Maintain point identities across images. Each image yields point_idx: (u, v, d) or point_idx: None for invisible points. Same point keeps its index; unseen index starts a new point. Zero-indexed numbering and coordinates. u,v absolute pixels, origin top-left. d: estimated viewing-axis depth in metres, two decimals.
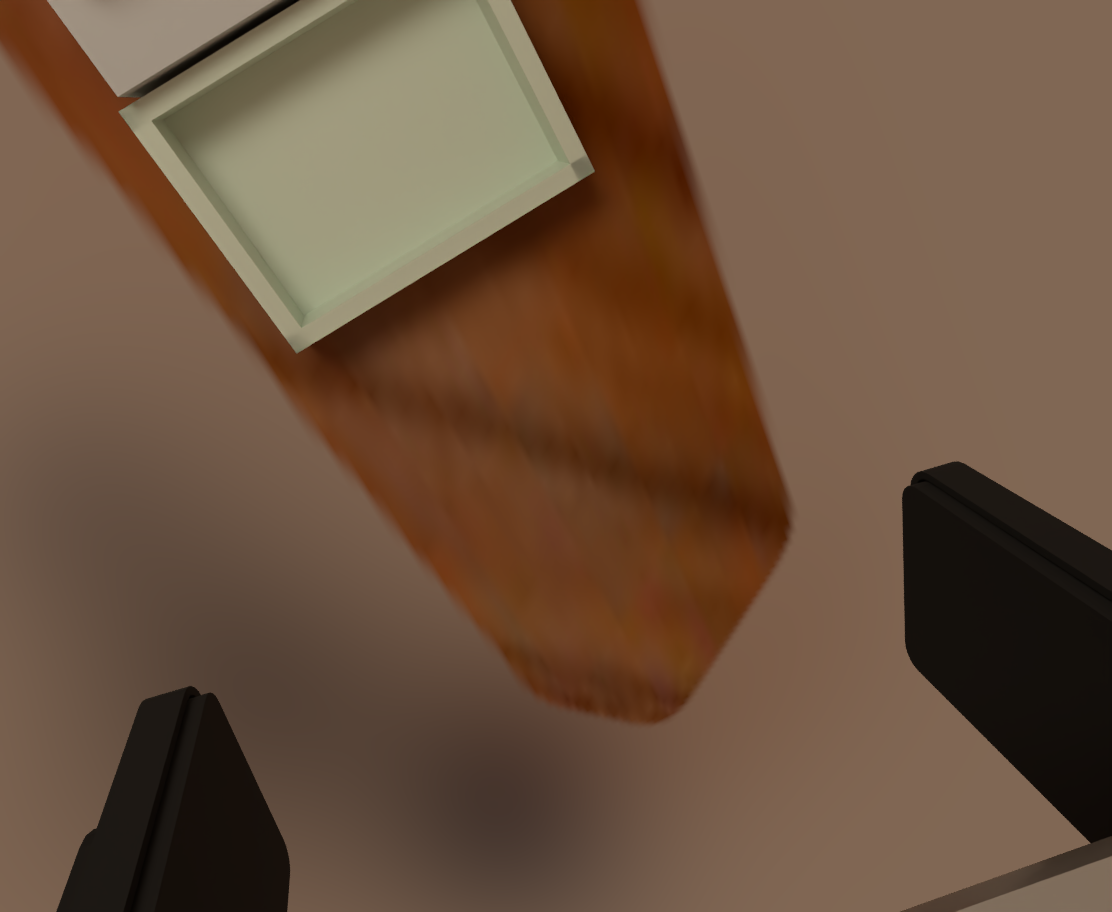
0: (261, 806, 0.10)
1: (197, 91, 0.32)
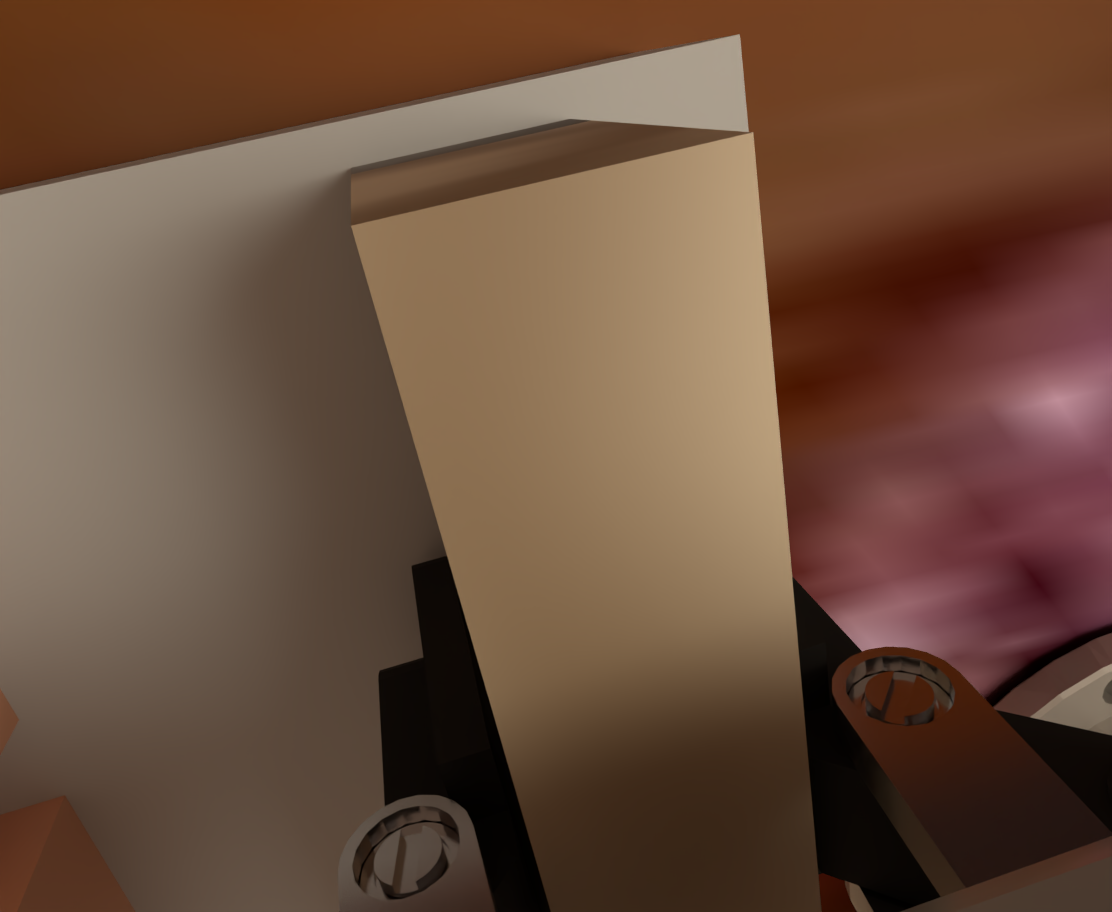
0: None
1: None
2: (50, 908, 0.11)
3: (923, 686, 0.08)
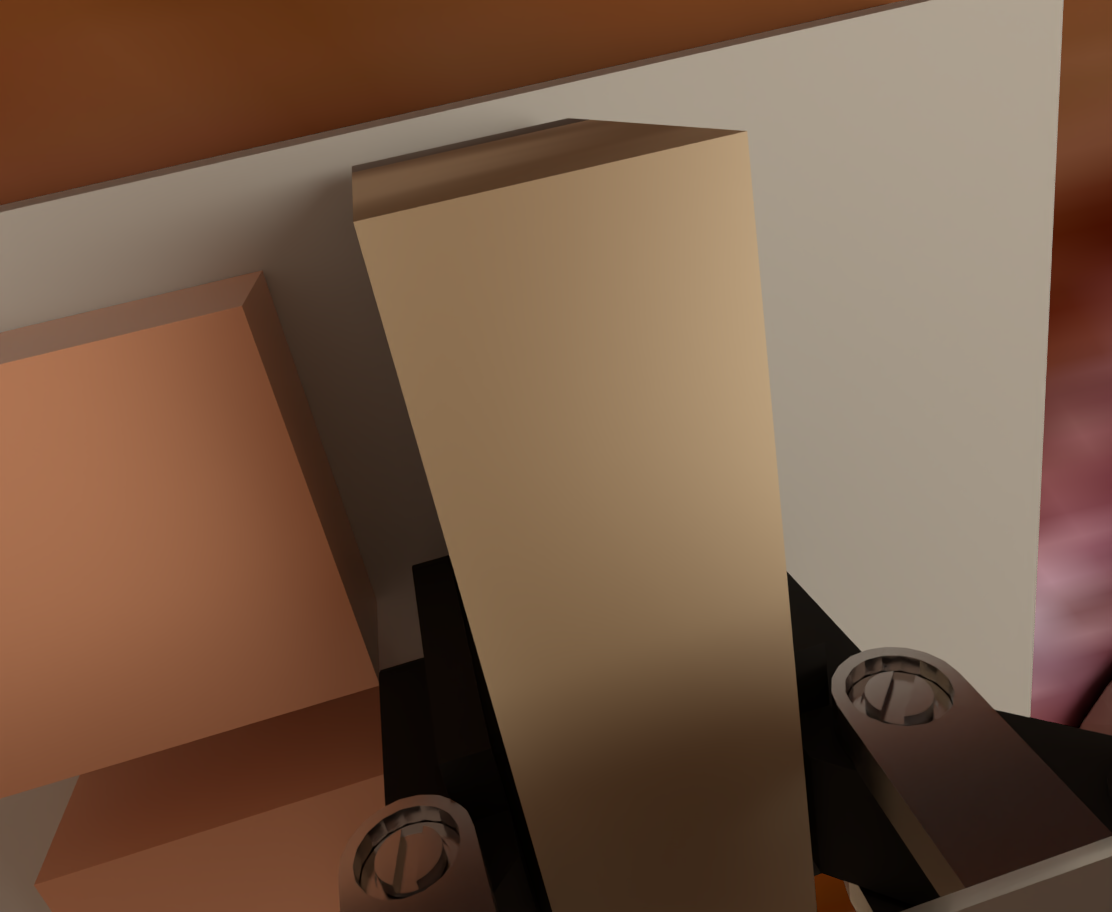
0: None
1: None
2: None
3: (923, 687, 0.08)
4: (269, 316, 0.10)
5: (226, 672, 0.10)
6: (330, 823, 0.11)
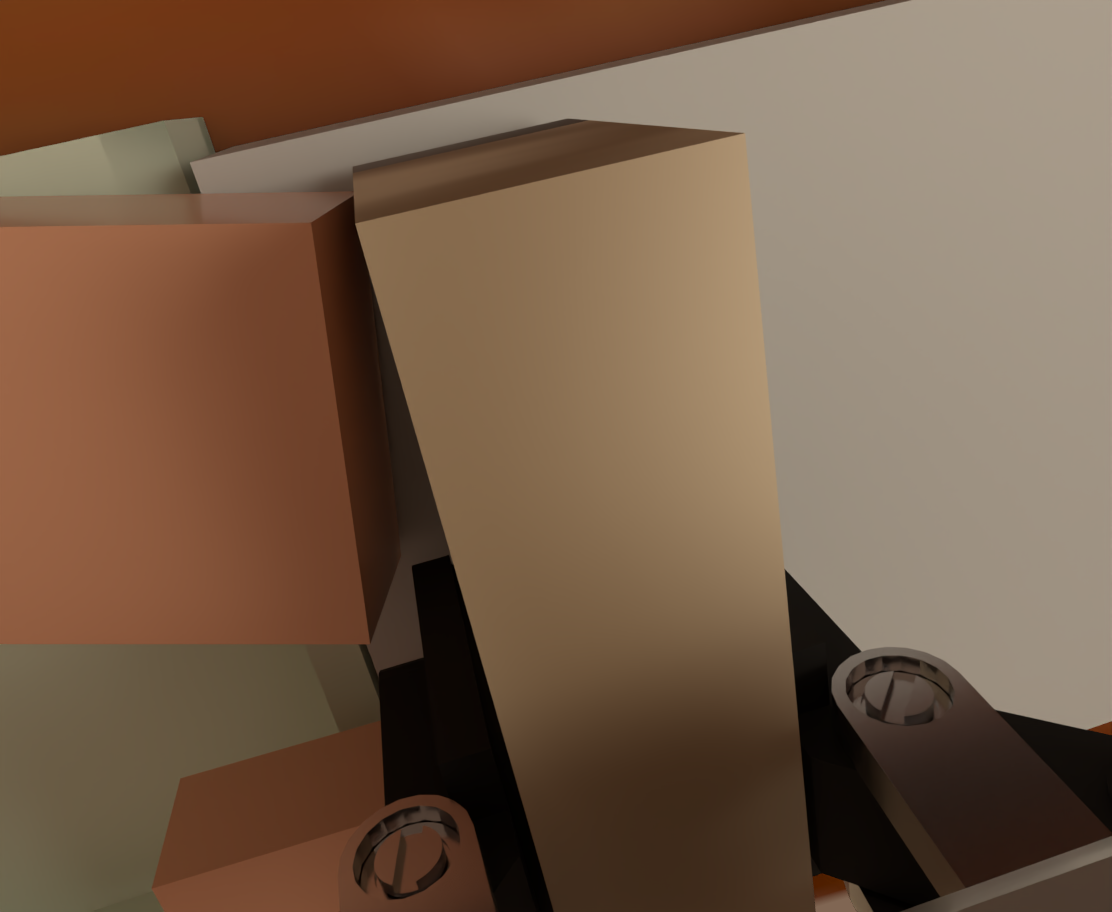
0: None
1: None
2: None
3: (923, 688, 0.08)
4: (351, 240, 0.09)
5: (223, 588, 0.10)
6: None
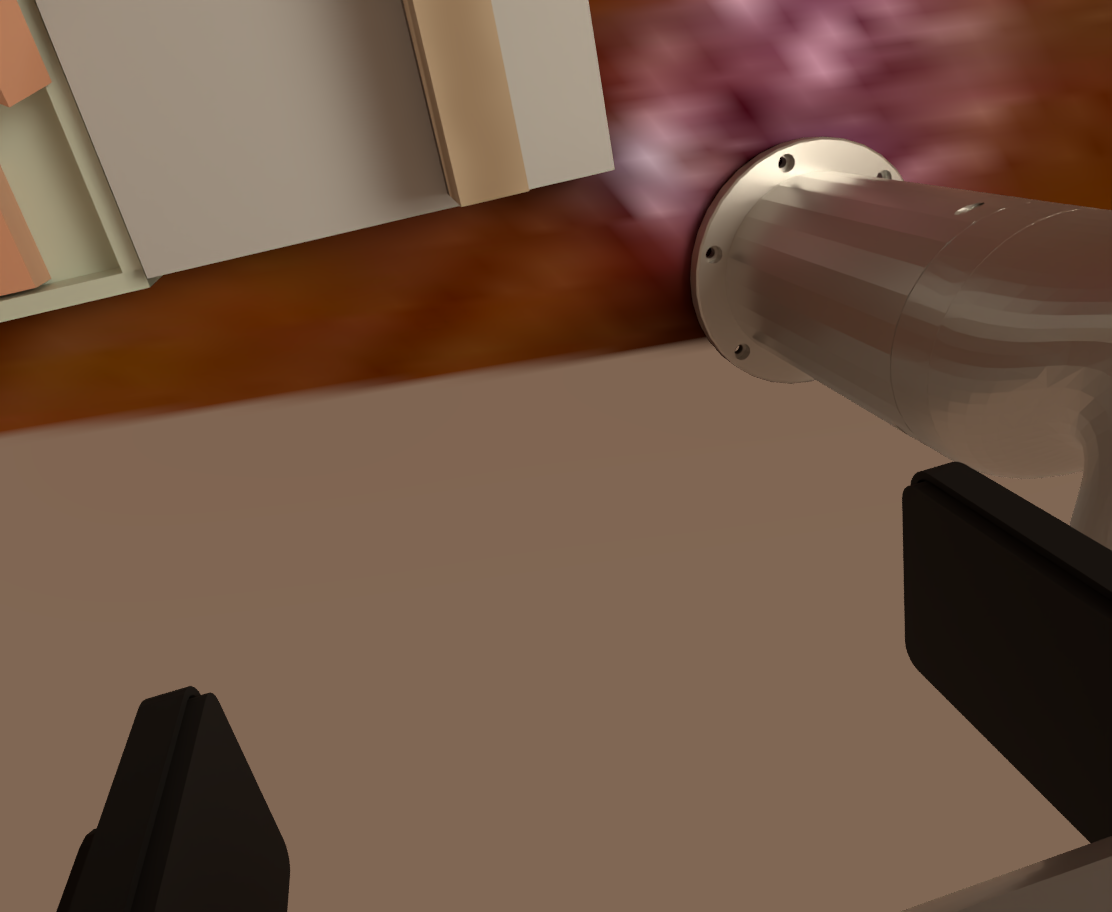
0: (261, 806, 0.10)
1: None
2: None
3: None
4: None
5: None
6: None
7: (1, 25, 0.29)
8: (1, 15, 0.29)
